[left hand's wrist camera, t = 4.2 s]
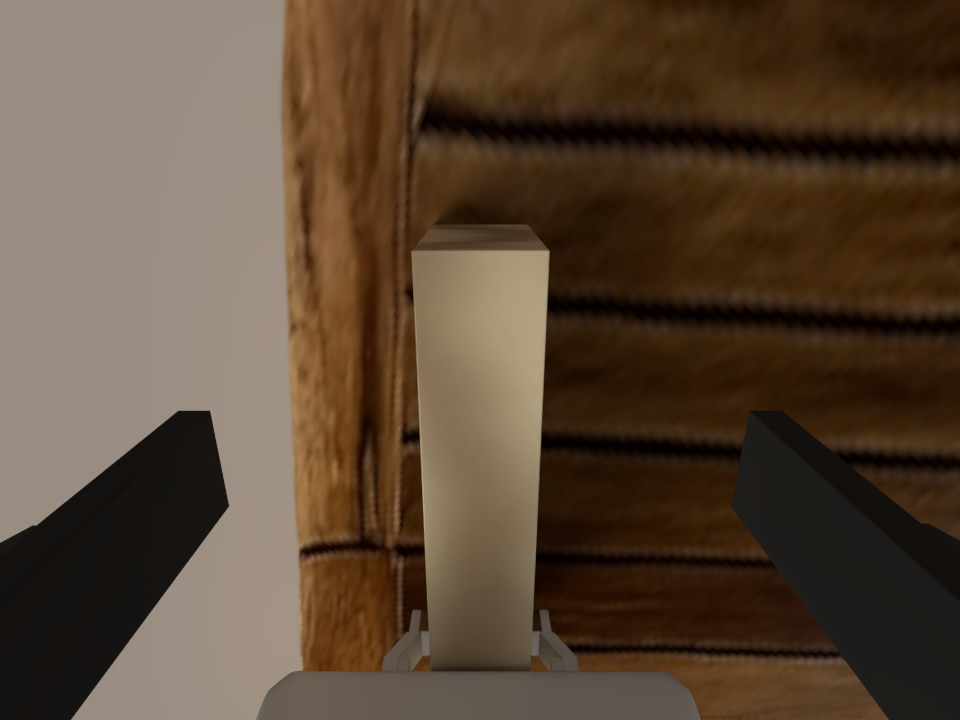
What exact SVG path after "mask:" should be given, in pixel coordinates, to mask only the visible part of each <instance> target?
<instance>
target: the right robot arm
mask: <svg viewBox="0 0 960 720" xmlns="http://www.w3.org/2000/svg"><path fill="white" fill-rule="evenodd" d="M531 655H532V656H539V658H540V659H541V661H542V662H543V663H544V665H545V666H546V667H547V669H548V670H549V671H412V670H413V669H414V667H415V666H416V664H417V663H418V662H419V660H420V659H421V657H422V656H430V648H429V626H428V610H413V612H412V618H411V624H410V631H409V632H407V633H406V634H405V635H404V636H403V637H402V638H401V639H400V640H399V641H398V642H397V644H396V645H395V646H394V647H393V648H392V649H391V650H390V651H389V652H388V653H387V654H386V655H385V657H384V660H383V665H382V670H381V671H295V672H292V673H290V674H288V675H287V676H285V677H284V678H283V679H282V680H281V681H279V682H278V683H277V684H276V685H274V686H273V687H272V688H271V689H270V690H269V691H268V693H267V695H266V696H265V698H264V701H263V703H262V705H261V708H260V711H259V713H258V716H257V719H256V720H701V719H700V716H699V713H698V710H697V708H696V705H695V702H694V699H693V697H692V695H691V693H690V691H689V690H688V689H687V688H686V687H685V686H684V685H683V684H681V683H680V682H679V681H678V680H677V679H675V678H674V677H673V676H672V675H670V674H669V673H667V672H663V671H579V666H578V661H577V657H576V656H575V655H574V654H573V653H572V651H571V650H570V649H569V648H568V647H567V646H566V645H565V644H564V643H563V642H562V641H561V640H560V638H559V637H558V636H557V635H556V634H555V633H554V632H551V627H550V620H549V614H548V610H533V626H532V648H531Z"/></svg>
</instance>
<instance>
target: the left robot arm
mask: <svg viewBox="0 0 960 720" xmlns="http://www.w3.org/2000/svg"><path fill="white" fill-rule="evenodd" d="M228 507H229V504H228V499H227V494H226V489H225V484H224V479H223V474H222V469H221V463H220V458H219V453H218V448H217V444H216V438H215V433H214V428H213V423H212V419H211V413H210V411H178V412H176V413H175V414H174V415H173V416H172V417H170V418H169V419H168V420H167V421H165V422H164V423H163V424H162V425H160V426H159V427H158V428H157V429H155V430H154V431H153V432H152V433H151V434H149V435H148V436H147V437H146V438H144V439H143V440H142V441H141V442H139V443H138V444H137V445H136V446H135V447H133V448H132V449H131V450H130V451H128V452H127V453H126V454H125V455H123V456H122V457H121V458H120V459H118V460H117V461H116V462H115V463H113V464H112V465H111V466H110V467H108V468H107V469H106V470H105V471H104V472H102V473H101V474H100V475H99V476H97V477H96V478H95V479H94V480H92V481H91V482H90V483H89V484H87V485H86V486H85V487H84V488H82V489H81V490H80V491H79V492H78V493H76V494H75V495H74V496H73V497H71V498H70V499H69V500H68V501H66V502H65V503H64V504H63V505H61V506H60V507H59V508H58V509H57V510H55V511H54V512H53V513H52V514H50V515H49V516H48V517H47V518H45V519H44V520H43V521H42V522H40V523H39V524H38V525H37V526H31V527H29V528H27V529H25V530H23V531H22V532H20V533H18V534H16V535H14V536H12V537H10V538H8V539H7V540H5V541H3V542H1V543H0V720H71V719H72V718H73V716H74V715H75V714H76V712H77V711H78V709H79V708H80V707H81V705H82V704H83V703H84V701H85V700H86V699H87V697H88V696H89V695H90V693H91V692H92V691H93V689H94V688H95V686H96V685H97V684H98V682H99V681H100V680H101V678H102V677H103V676H104V674H105V673H106V672H107V670H108V669H109V668H110V666H111V665H112V664H113V662H114V661H115V659H116V658H117V657H118V655H119V654H120V653H121V651H122V650H123V649H124V647H125V646H126V645H127V643H128V642H129V641H130V639H131V638H132V637H133V635H134V634H135V632H136V631H137V630H138V628H139V627H140V626H141V624H142V623H143V622H144V620H145V619H146V618H147V616H148V615H149V614H150V612H151V611H152V609H153V608H154V607H155V605H156V604H157V603H158V601H159V600H160V599H161V597H162V596H163V595H164V593H165V592H166V591H167V589H168V588H169V587H170V585H171V584H172V582H173V581H174V580H175V578H176V577H177V576H178V574H179V573H180V572H181V570H182V569H183V568H184V566H185V565H186V564H187V562H188V561H189V560H190V558H191V557H192V555H193V554H194V553H195V551H196V550H197V549H198V547H199V546H200V545H201V543H202V542H203V541H204V539H205V538H206V537H207V535H208V534H209V532H210V531H211V530H212V528H213V527H214V526H215V524H216V523H217V522H218V520H219V519H220V518H221V516H222V515H223V514H224V512H225V511H226V509H227V508H228ZM731 507H732V508H733V510H734V511H735V512H736V514H737V515H738V516H739V518H740V519H741V520H742V522H743V523H744V524H745V526H746V527H747V528H748V530H749V531H750V533H751V534H752V535H753V537H754V538H755V539H756V541H757V542H758V543H759V545H760V546H761V547H762V549H763V550H764V551H765V553H766V554H767V555H768V557H769V558H770V560H771V561H772V562H773V564H774V565H775V566H776V568H777V569H778V570H779V572H780V573H781V574H782V576H783V577H784V578H785V580H786V581H787V582H788V584H789V585H790V587H791V588H792V589H793V591H794V592H795V593H796V595H797V596H798V597H799V599H800V600H801V601H802V603H803V604H804V605H805V607H806V608H807V610H808V611H809V612H810V614H811V615H812V616H813V618H814V619H815V620H816V622H817V623H818V624H819V626H820V627H821V628H822V630H823V631H824V632H825V634H826V635H827V637H828V638H829V639H830V641H831V642H832V643H833V645H834V646H835V647H836V649H837V650H838V651H839V653H840V654H841V655H842V657H843V658H844V659H845V661H846V662H847V664H848V665H849V666H850V668H851V669H852V670H853V672H854V673H855V674H856V676H857V677H858V678H859V680H860V681H861V682H862V684H863V685H864V686H865V688H866V689H867V691H868V692H869V693H870V695H871V696H872V697H873V699H874V700H875V701H876V703H877V704H878V705H879V707H880V708H881V709H882V711H883V712H884V714H885V715H886V716H887V718H888V719H889V720H960V540H958V539H956V538H954V537H952V536H950V535H948V534H946V533H944V532H943V531H941V530H939V529H937V528H935V527H933V526H931V525H929V524H921V523H920V522H918V521H917V520H916V519H915V518H913V517H912V516H911V515H910V514H908V513H907V512H906V511H905V510H904V509H902V508H901V507H900V506H899V505H897V504H896V503H895V502H894V501H892V500H891V499H890V498H889V497H887V496H886V495H885V494H884V493H882V492H881V491H880V490H879V489H878V488H876V487H875V486H874V485H873V484H871V483H870V482H869V481H868V480H866V479H865V478H864V477H863V476H861V475H860V474H859V473H858V472H856V471H855V470H854V469H853V468H852V467H850V466H849V465H848V464H847V463H845V462H844V461H843V460H842V459H840V458H839V457H838V456H837V455H835V454H834V453H833V452H832V451H831V450H829V449H828V448H827V447H826V446H824V445H823V444H822V443H821V442H819V441H818V440H817V439H816V438H814V437H813V436H812V435H811V434H809V433H808V432H807V431H806V430H805V429H803V428H802V427H801V426H800V425H798V424H797V423H796V422H795V421H793V420H792V419H791V418H790V417H788V416H787V415H786V414H785V413H784V412H782V411H750V413H749V418H748V423H747V428H746V433H745V438H744V443H743V448H742V453H741V458H740V463H739V468H738V473H737V479H736V484H735V489H734V494H733V499H732V504H731Z"/></svg>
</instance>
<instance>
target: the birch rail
mask: <svg viewBox="0 0 960 720" xmlns="http://www.w3.org/2000/svg"><path fill="white" fill-rule="evenodd" d="M549 257H550V251H549V250H548V248H547V247H546V246H545V245H544V244H543V242H542V241H541V240H540V239H539V238H538V237H537V235H536V234H535V233H534V232H533V231H532V229H531V228H530V227H529V226H528V225H527V224H509V225H432V226H431V227H430V229H429V230H428V231H427V232H426V234H425V235H424V236H423V237H422V239H421V240H420V241H419V242H418V244H417V245H416V246H415V247H414V249H413V250H412V273H413V295H414V317H415V339H416V361H417V383H418V405H419V427H420V450H421V472H422V494H423V516H424V538H425V560H426V582H427V604H428V626H429V648H430V671H530V670H531V648H532V626H533V605H534V583H535V561H536V539H537V518H538V496H539V474H540V452H541V431H542V409H543V387H544V365H545V344H546V322H547V300H548V278H549Z"/></svg>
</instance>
